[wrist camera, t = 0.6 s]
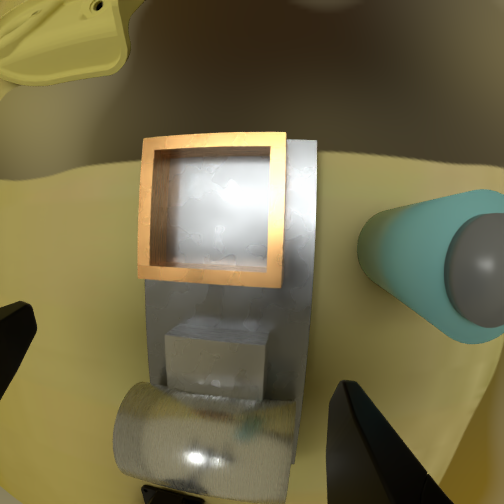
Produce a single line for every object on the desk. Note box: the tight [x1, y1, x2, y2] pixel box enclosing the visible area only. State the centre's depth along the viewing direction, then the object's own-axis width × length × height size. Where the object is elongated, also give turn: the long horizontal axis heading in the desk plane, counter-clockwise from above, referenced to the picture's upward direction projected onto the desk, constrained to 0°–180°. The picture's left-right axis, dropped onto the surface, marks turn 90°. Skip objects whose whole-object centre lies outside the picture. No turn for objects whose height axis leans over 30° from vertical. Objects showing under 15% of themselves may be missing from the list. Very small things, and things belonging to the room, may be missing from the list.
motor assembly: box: [113, 132, 317, 504], centre depth 18 cm, size 23×11×8 cm, turn 178°
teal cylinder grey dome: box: [357, 189, 504, 344], centre depth 14 cm, size 5×5×12 cm
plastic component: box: [0, 0, 145, 86], centre depth 21 cm, size 20×7×10 cm
